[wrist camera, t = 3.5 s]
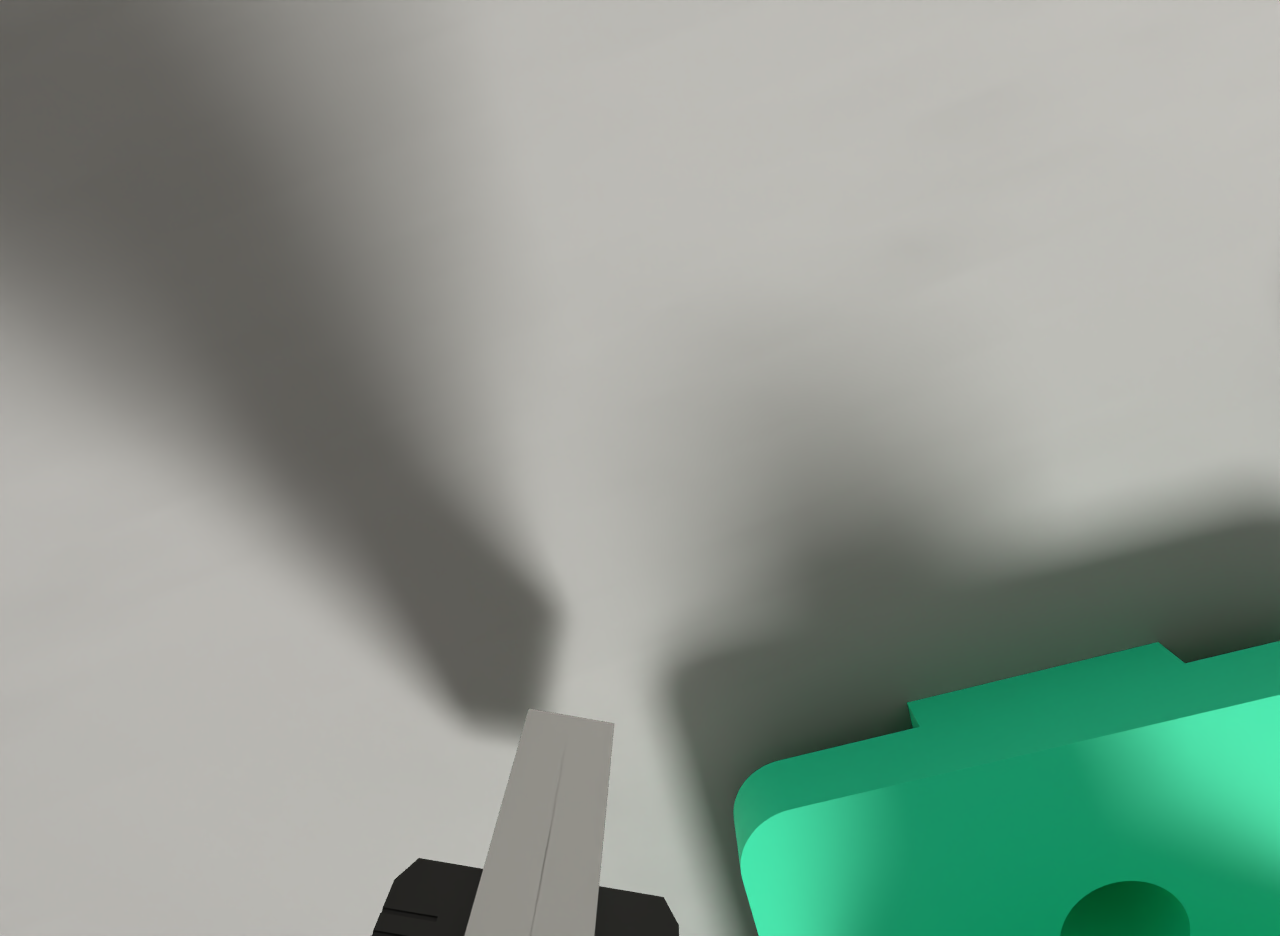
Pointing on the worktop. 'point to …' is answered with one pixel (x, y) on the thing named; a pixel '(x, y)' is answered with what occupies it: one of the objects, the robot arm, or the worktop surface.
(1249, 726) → the camera mount
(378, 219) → the worktop surface
